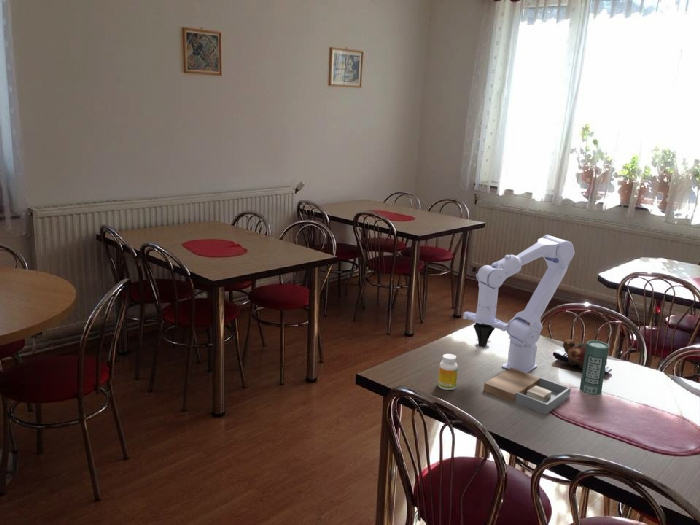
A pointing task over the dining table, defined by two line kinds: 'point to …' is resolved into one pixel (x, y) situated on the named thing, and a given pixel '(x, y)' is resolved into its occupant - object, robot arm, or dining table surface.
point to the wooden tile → (539, 393)
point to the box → (557, 398)
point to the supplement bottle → (448, 372)
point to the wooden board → (511, 384)
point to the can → (594, 367)
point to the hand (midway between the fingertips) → (482, 346)
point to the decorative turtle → (575, 352)
